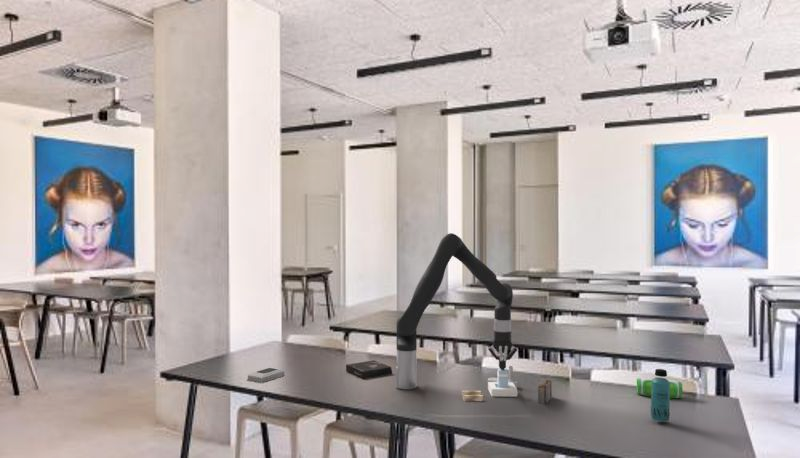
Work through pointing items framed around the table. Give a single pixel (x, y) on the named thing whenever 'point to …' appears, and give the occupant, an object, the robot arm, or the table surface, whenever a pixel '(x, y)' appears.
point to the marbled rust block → (544, 391)
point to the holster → (472, 396)
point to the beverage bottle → (660, 396)
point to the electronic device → (509, 377)
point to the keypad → (266, 374)
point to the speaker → (646, 387)
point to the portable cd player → (368, 369)
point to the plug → (502, 378)
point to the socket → (502, 390)
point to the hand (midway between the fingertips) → (502, 369)
